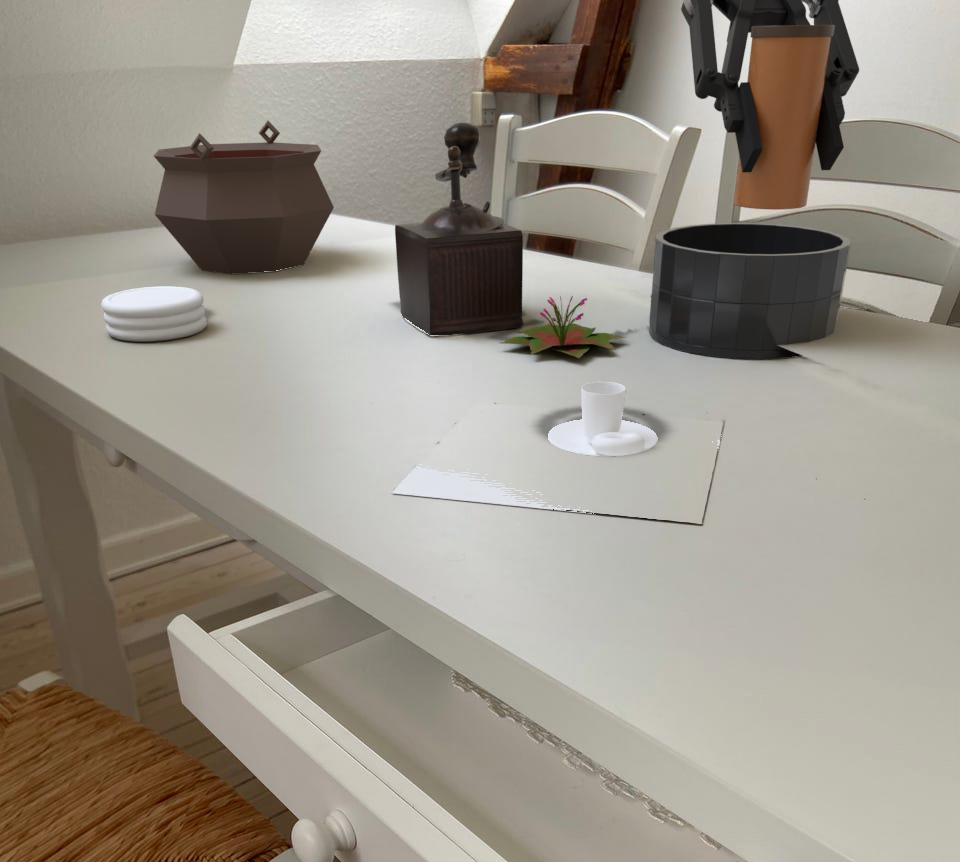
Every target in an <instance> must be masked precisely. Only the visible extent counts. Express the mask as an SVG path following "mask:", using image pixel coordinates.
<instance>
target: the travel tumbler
mask: <svg viewBox="0 0 960 862" xmlns="http://www.w3.org/2000/svg"><path fill="white" fill-rule="evenodd" d="M834 27H835V25H814V24H810V25H783V26H752V28H751V33H750V39H751V46H750V53H749V64H748V72H747V81H746V82H750V86H751V91H752V96H753V102H754V107H755V112H756V117H757V122H758V128H759V133H760V138H761V143H762V148H763V150H762V152H761V154H760V156H759V158H758V160H757V162H756V164H755V166H754V168H753V170H752V172H742V167H741V162H740V156H739V155H738V162H737V170H736V179H735V188H734V196H733V205H735V206H737V207H740V208H746V209H754V210H755V209H756V210H772V211H773V210H795V209H801V208H805V207H807V205H808V204H807V203H808V199H809V190H810V184H811V176H812V170H813V165H814V164H813V163H814V157H815V149H816V136H817V130H818V123H819V116H820V109H821V102H822V96H823V89H824V82H825V75H826V68H827V62H828V55H829V48H830V41H831V37H833V34H834Z"/></svg>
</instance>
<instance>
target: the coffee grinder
mask: <svg viewBox="0 0 960 862" xmlns="http://www.w3.org/2000/svg"><path fill="white" fill-rule="evenodd" d="M443 139H444V145H445V146H446V148H447V149H448V150H447V157H448V160H449V161H448V163H447V165H448V167H447V168H445V169H442V170H440V171H438V172H437V173H435V174H434V175H435V177H434V178H435V180H436V181H438V182H442V183H443V182H444V183H447V182H450V191H451V192H450V193H451V194H450V195H451V200H450V202H449V205H446V206H443V207H440V208H438V209H436V210H434V211H433V212H430V214H429V215H427V216H426V218H425V219H423V221H419V222H412V223H410V222H409V223H401V224H395V225H394V236H395V238H394V239H395V251H396V253H395V254H396V268H397V269H396V270H397V280H398V291H399V292H398V293H399V302H400V315H401V314H402V315H401V317H402V316H403V317H404V318H406V319H407V320H409V321H410V322H412V324H414V325H415V326H417V327H419V328H420V329H422V330H424V331H425V332H426V333H428V334H429V335H449V336H456V335H455V334H458V335H467V334H475V333H484V332H493V331H501V330H508V329H509V330H510V329H518V328H522V327H523V326H524V325H525V324H524V319H523V273H524V271H523V269H524V268H523V266H524V265H523V261H524V260H523V259H524V257H523V256H524V236H523V232H522V229H519V228H516V227H514V226H511V225H509V224H506V223H505V222H506V221H505V219H504V218H502V217H499V216H495V215H492V214H491V213H490V212H489V209H490V206H491V202H490V201H486V202H485V204H484V205H483V208H480V207H478V206H476V205H474V204H470V203H468V202H464V201H463V199H462V196H461V195H462V194H461V193H462V192H461V177H462V178H464V179H467V177H468V176H469V175H471V173H472V172H474V171H475V172H476V171H477V170H478V166H477V164H476V162H475V158H474V157H475V155H476V154H475V153H476V151H477V149H478V148H479V146H480V144H481V135H480V133H479V129H478V127H476V126H475V125H473V124H471V123H470V122H457V123H453V124H452V125H451V126H450V127H448V128H447V129H446V130H445V133H444V136H443ZM403 317H402V318H403ZM453 334H454V335H453Z"/></svg>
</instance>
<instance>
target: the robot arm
mask: <svg viewBox="0 0 960 862" xmlns="http://www.w3.org/2000/svg"><path fill="white" fill-rule="evenodd" d="M805 4H806V5H807V7H808V11H809V13H808V17H809V18H810V19H813V25H835V27H834V34H833V37H831V41H830V48H829V55H828V62H827V68H826V75H825V82H824V89H823V96H822V102H821V109H820V116H819V123H818V130H817V136H816V143H815V147H816V151H817V156H818V161H819V165H820V169H821V171H831V169H832V168H833V166H834V164H835V163H836V161H837V159H838V158H839V156H840V154H841V153H842V151H843V150H844V148H845V146H844V140H843V136H842V132H841V124H842V122H843V121H844V119H845V115H846V111H845V107H844V103H843V97H845V96H846V95H847V94H848V93H849V90H850V89H851V87H852V85H853V83H854V82H855V80H856V78H857V77H858V74H859V73H860V66H859V64H858V60H857V58H856V53H855V51H854V48H853V45H852V41H851V38H850V35H849V31H848V29H847V25H846V22H845V18H844V16H843V12H842V10H841V6H840V3H839V0H683V1H682V4H681V8H680V11H681V13H682V15H683V17H684V19H685V21H686V22H687V25H688V27H689V39H690V49H691V60H692V63H691V64H692V73H693V84H694V85H693V86H694V93H695V96H696V97H697V98H698V99H701V100H706V99H708V97H711V98H714V99H715V100H714V103H713V108H714V109H715V111H717V112H720V113H721V115H722V121H723V126H724V130H725V131H726V133H728V134H733V133H734V135H735V140H736V145H737V150H738V157H739V156H740V162H741V167H742V172H752V170H753V168H754V166H755V164H756V162H757V160H758V158H759V156H760V154H761V152H762V150H763V148H762V143H761V138H760V133H759V128H758V122H757V117H756V112H755V107H754V102H753V96H752V91H751V86H750V82H747V81H744V82H742V81H741V82H740V79H741V74H742V70H743V68H742V67H743V64H744V58H745V54H746V47H747V42H748V37H749V33H750V34H751V28H752V26H783V25H811V23H810V22H809V20H808V18H807V8H806V5H805ZM713 6H714V7H715V8H716V9H717V10H718V11H719V12H720V13H721V14H722V15H723V16H724V17H725V18H726V19H728V21H729V26H728V32H727V33H728V34H727V38H726V47H725V53H724V57H723V63H722V68H721V72H719V69H718V59H717V49H716V37H715V28H714V18H713ZM739 82H740V84H739Z"/></svg>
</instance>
